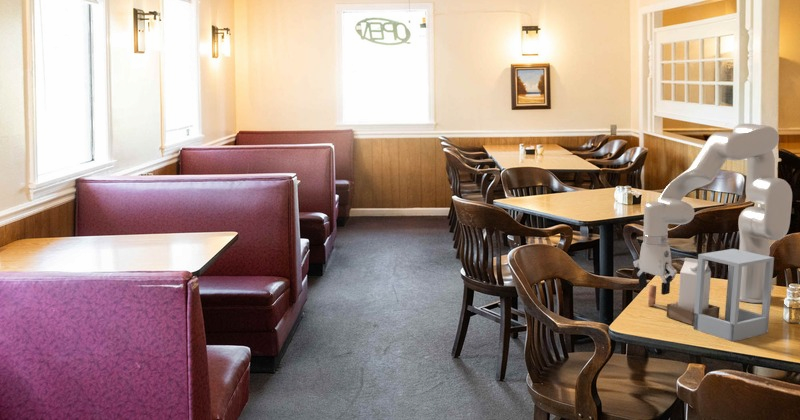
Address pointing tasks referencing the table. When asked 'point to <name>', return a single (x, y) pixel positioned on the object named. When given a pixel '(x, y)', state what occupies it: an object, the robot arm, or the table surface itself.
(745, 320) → the grey open frame
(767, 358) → the table surface
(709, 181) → the robot arm
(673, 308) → the brown tray with handle
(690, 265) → the milk carton
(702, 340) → the table surface
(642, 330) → the table surface
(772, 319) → the table surface
